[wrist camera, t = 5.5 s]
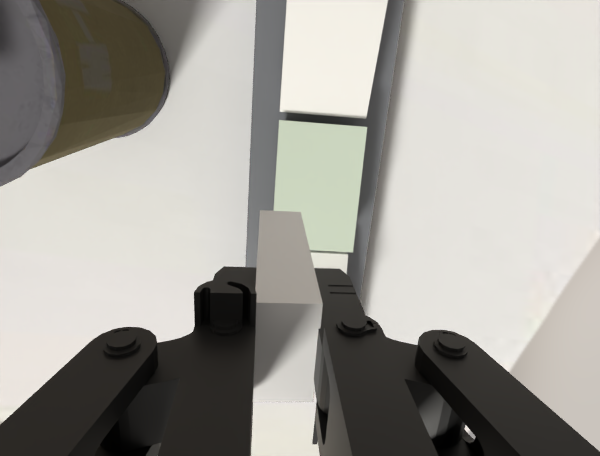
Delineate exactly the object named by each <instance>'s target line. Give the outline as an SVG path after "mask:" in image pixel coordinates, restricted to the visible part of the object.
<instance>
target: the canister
mask: <svg viewBox="0 0 600 456" xmlns="http://www.w3.org/2000/svg"><path fill="white" fill-rule="evenodd" d="M168 84H169V67H168V61H167V57H166V54H165V51H164V48H163V46H162V44H161V42H160V39H159V37H158V35H157V34H156V32H155V31H154V29H153V28H152V27H151V25H150V24H149V22H148V21H147V20H146V19H145V18H144V17H143V16H142V15H141V14H140V13H138V12H137V11H136V10H135V9H133V8H132V7H131V6H129V5H128V4H126V3H124V2H123V1H121V0H0V186H2V185H4V184H7V183H9V182H11V181H13V180H15V179H17V178H19V177H21V176H22V175H23V174H24V173H26V172H27V171H28V170H29V169H32V168H34V167H37V166H40V165H42V164H45V163H48V162H51V161H53V160H56V159H59V158H61V157H64V156H67V155H69V154H72V153H75V152H77V151H80V150H83V149H85V148H88V147H91V146H93V145H96V144H99V143H102V142H104V141H107V140H110V139H112V138H119V137H125V136H128V135H131V134H133V133H136V132H138V131H139V130H141V129H143V128H144V127H146V126H147V125H149V124H150V122H151V121H152V120H153V119H154V118H155V117H156V116H157V114H158V113H159V111H160V110H161V108H162V107H163V104H164V101H165V99H166V96H167V91H168Z"/></svg>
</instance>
